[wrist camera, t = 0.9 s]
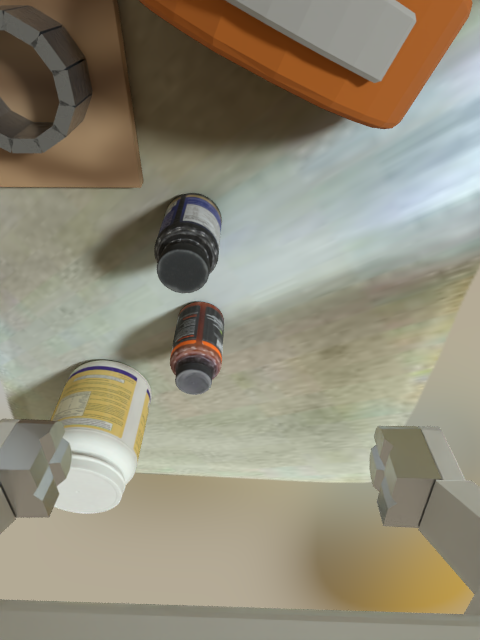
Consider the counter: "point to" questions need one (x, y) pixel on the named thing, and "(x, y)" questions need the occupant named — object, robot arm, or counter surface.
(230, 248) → the counter surface
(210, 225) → the pill bottle
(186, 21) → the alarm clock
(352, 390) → the counter surface
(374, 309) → the counter surface
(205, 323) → the supplement bottle
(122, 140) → the collar base board
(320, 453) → the counter surface
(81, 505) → the supplement tub
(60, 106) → the rosette collar
